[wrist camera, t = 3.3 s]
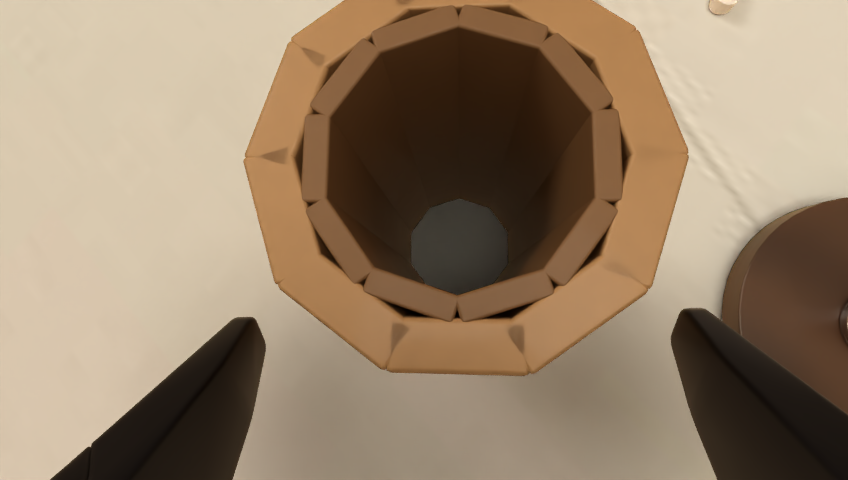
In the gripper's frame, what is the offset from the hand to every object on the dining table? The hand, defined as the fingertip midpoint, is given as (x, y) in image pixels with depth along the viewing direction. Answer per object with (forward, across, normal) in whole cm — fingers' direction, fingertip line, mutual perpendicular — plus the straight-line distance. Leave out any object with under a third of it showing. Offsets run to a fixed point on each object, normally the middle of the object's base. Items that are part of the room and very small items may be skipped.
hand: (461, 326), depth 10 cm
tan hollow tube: (+9, 0, +5) cm, 10 cm away
